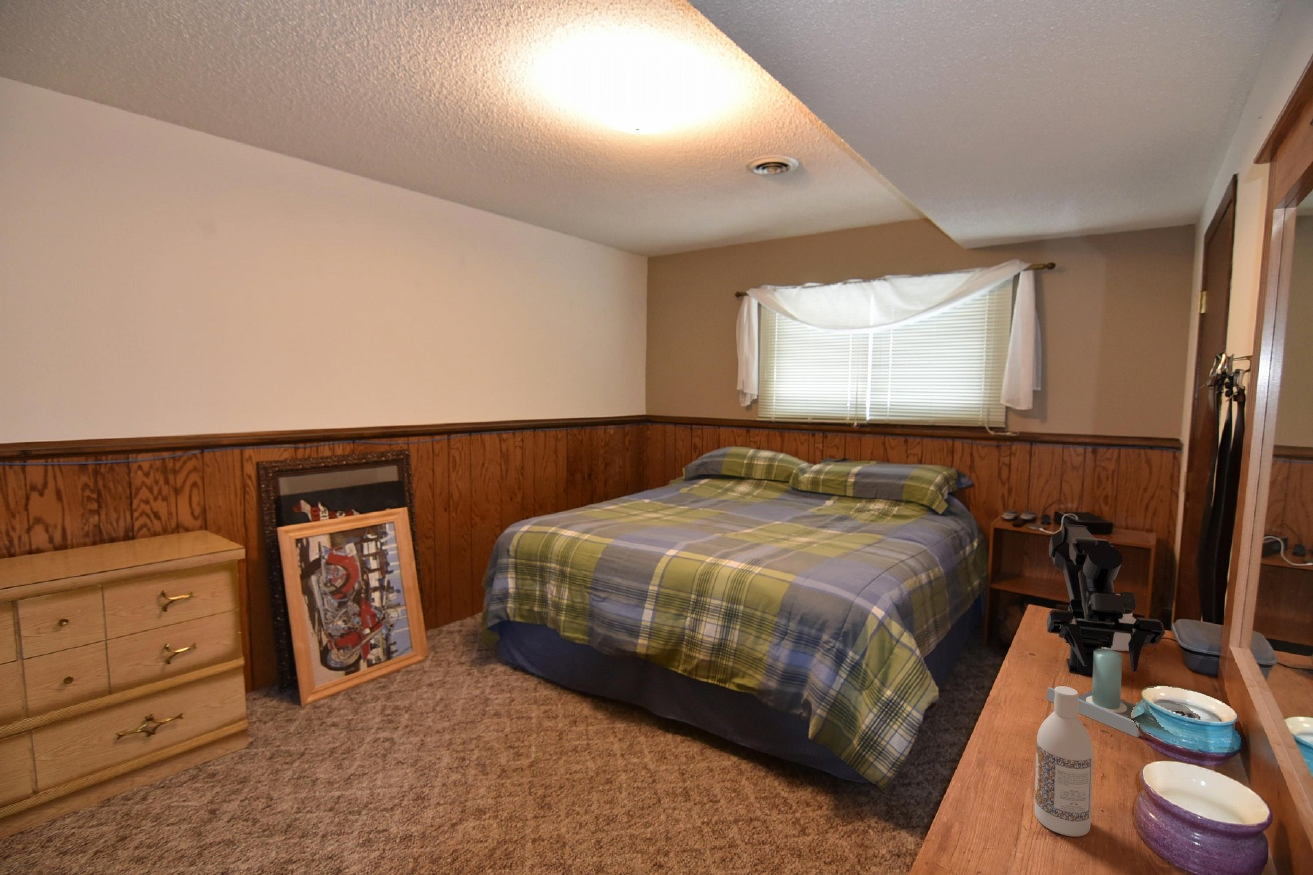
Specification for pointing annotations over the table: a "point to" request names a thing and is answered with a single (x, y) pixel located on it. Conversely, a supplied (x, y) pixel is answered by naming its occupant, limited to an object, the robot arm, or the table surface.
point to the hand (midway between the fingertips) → (1109, 668)
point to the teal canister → (1107, 678)
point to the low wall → (1102, 715)
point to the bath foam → (1064, 768)
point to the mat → (1123, 710)
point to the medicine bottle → (1123, 638)
